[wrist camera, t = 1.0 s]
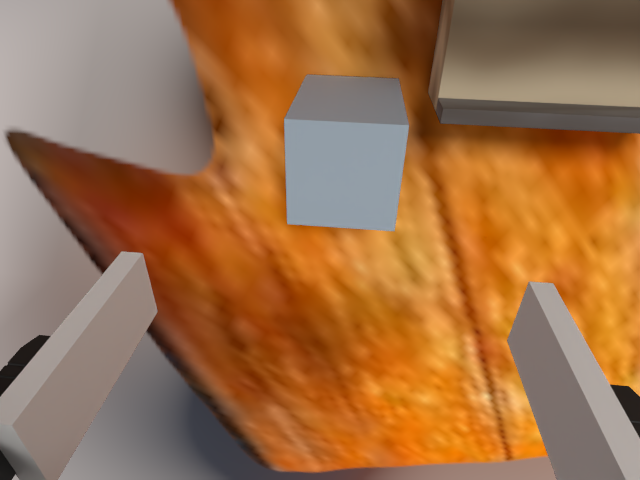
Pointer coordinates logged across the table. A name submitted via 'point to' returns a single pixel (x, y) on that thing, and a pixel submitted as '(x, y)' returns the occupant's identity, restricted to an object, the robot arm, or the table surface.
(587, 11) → the grey slotted stand
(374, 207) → the grey rectangular block
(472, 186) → the table surface
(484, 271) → the table surface
